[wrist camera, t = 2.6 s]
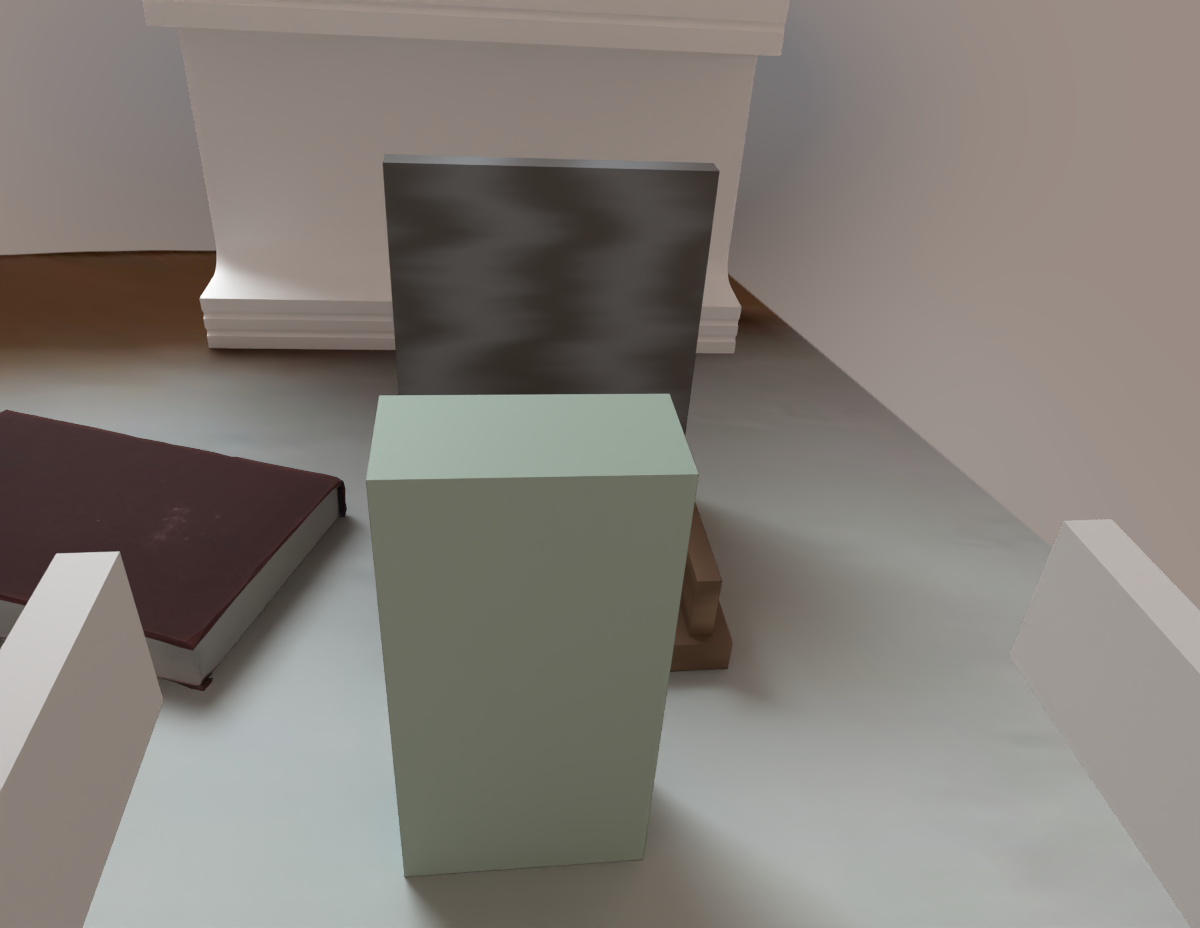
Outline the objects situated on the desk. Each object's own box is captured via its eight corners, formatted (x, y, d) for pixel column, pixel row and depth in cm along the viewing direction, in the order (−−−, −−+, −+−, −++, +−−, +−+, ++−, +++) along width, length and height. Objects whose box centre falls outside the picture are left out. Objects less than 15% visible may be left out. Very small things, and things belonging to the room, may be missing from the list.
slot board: (390, 684, 37) (352, 276, 28) (407, 495, 48) (384, 154, 38) (727, 668, 39) (802, 281, 30) (671, 490, 50) (713, 163, 40)
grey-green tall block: (404, 876, 31) (365, 480, 22) (410, 776, 34) (378, 395, 25) (642, 859, 32) (698, 474, 23) (626, 763, 35) (669, 393, 26)
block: (711, 305, 71) (770, -128, 55) (734, 353, 64) (808, -123, 49) (237, 297, 67) (158, -171, 51) (209, 348, 60) (108, -173, 45)
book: (24, 450, 50) (6, 398, 49) (351, 519, 47) (345, 466, 45) (-192, 600, 40) (-225, 541, 38) (205, 701, 37) (189, 642, 35)
